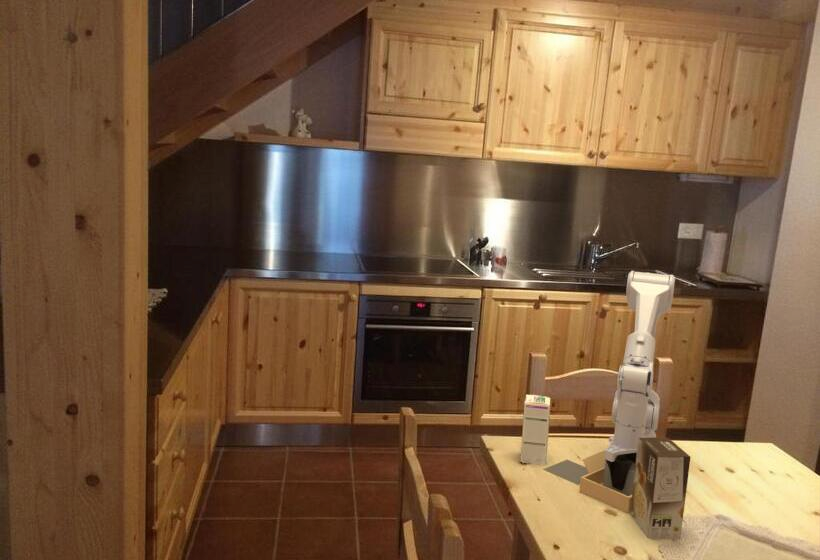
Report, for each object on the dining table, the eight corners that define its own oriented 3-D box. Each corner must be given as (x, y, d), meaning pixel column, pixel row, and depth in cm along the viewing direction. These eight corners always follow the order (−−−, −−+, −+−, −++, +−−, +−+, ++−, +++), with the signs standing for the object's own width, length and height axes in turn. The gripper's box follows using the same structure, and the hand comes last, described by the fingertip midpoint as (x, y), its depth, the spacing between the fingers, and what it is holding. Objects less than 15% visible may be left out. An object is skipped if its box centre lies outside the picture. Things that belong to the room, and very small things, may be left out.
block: (612, 482, 144) (615, 455, 143) (643, 495, 139) (646, 466, 138) (602, 487, 142) (605, 459, 141) (633, 501, 137) (636, 471, 136)
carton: (610, 471, 151) (613, 445, 150) (673, 497, 140) (677, 469, 139) (571, 490, 141) (574, 462, 140) (636, 518, 130) (639, 489, 129)
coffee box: (682, 541, 123) (692, 457, 120) (648, 540, 122) (658, 456, 120) (659, 515, 132) (669, 437, 130) (627, 515, 131) (636, 436, 129)
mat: (566, 461, 155) (567, 459, 155) (601, 475, 149) (601, 473, 149) (542, 471, 149) (542, 469, 149) (577, 486, 143) (577, 484, 143)
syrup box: (546, 466, 151) (551, 404, 149) (519, 463, 153) (524, 401, 150) (546, 456, 157) (551, 396, 155) (520, 453, 158) (525, 393, 156)
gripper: (631, 409, 146) (624, 469, 148) (593, 423, 136) (586, 487, 138) (662, 419, 141) (654, 481, 143) (625, 434, 131) (617, 500, 133)
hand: (623, 485), depth 140 cm, fingers closed on block, 4 cm apart
